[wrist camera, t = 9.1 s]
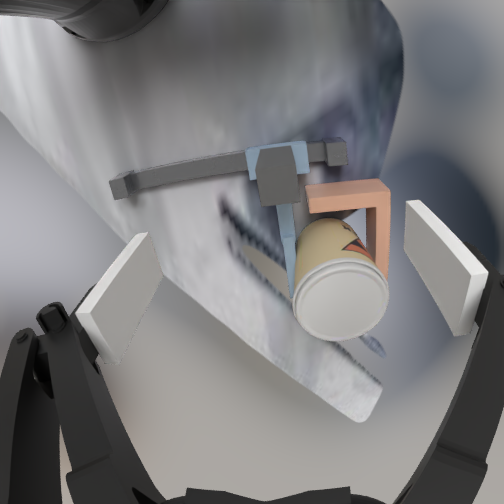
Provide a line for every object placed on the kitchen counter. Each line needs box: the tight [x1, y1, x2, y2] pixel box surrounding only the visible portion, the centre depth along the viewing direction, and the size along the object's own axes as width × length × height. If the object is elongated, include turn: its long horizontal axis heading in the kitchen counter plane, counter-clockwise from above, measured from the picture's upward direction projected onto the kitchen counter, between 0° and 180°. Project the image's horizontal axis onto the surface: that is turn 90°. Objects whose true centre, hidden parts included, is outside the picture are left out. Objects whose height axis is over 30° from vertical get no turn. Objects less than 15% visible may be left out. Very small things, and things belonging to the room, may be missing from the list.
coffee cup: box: [292, 218, 389, 341], centre depth 33 cm, size 9×9×12 cm
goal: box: [305, 178, 391, 280], centre depth 36 cm, size 16×9×4 cm, turn 9°
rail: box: [109, 137, 348, 200], centre depth 33 cm, size 2×26×3 cm, turn 100°
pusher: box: [245, 140, 310, 298], centre depth 32 cm, size 18×6×11 cm, turn 9°
